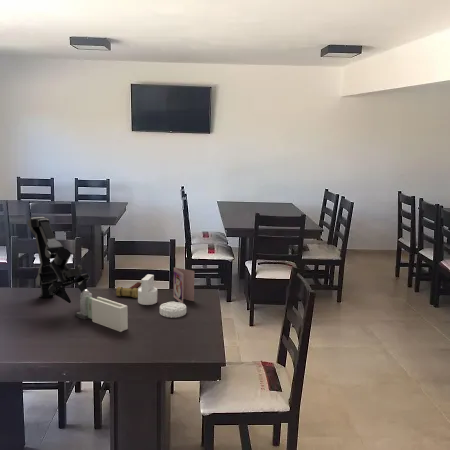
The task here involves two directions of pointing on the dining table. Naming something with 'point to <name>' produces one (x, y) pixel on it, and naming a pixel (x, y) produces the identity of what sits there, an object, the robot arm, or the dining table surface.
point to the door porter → (84, 304)
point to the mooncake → (173, 309)
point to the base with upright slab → (147, 291)
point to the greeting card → (183, 284)
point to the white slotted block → (110, 314)
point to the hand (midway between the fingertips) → (78, 299)
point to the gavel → (129, 291)
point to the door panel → (90, 307)
